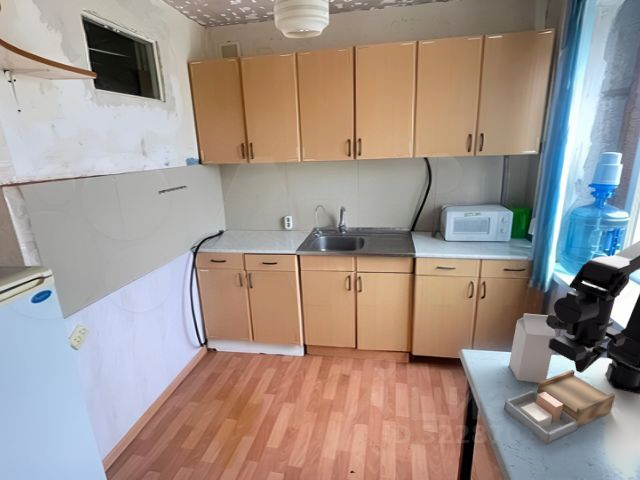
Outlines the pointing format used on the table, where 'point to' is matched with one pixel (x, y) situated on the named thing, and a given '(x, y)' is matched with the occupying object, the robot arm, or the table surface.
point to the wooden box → (577, 397)
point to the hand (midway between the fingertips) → (579, 371)
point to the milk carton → (531, 348)
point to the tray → (545, 433)
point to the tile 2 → (550, 405)
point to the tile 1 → (537, 414)
